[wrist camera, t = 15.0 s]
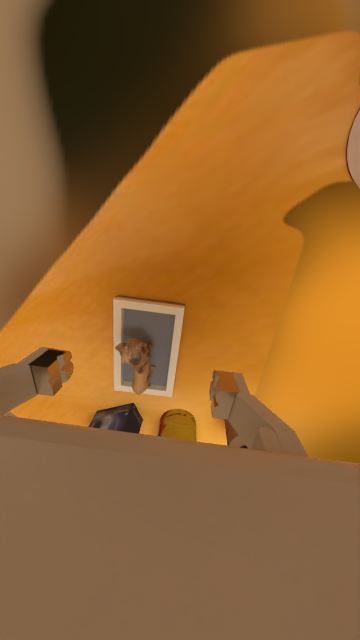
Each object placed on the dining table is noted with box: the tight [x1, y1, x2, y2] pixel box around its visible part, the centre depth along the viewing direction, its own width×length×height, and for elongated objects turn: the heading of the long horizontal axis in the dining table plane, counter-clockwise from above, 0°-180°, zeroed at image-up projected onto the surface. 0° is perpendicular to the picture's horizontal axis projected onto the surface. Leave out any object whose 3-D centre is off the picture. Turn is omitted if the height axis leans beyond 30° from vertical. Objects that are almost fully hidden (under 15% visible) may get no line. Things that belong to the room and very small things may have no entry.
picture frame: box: [113, 296, 185, 397], centre depth 38 cm, size 13×21×2 cm, turn 173°
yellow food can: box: [158, 409, 196, 442], centre depth 42 cm, size 9×9×12 cm
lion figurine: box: [115, 338, 156, 394], centre depth 35 cm, size 15×5×9 cm, turn 6°
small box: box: [89, 403, 143, 434], centre depth 42 cm, size 11×6×10 cm, turn 108°
